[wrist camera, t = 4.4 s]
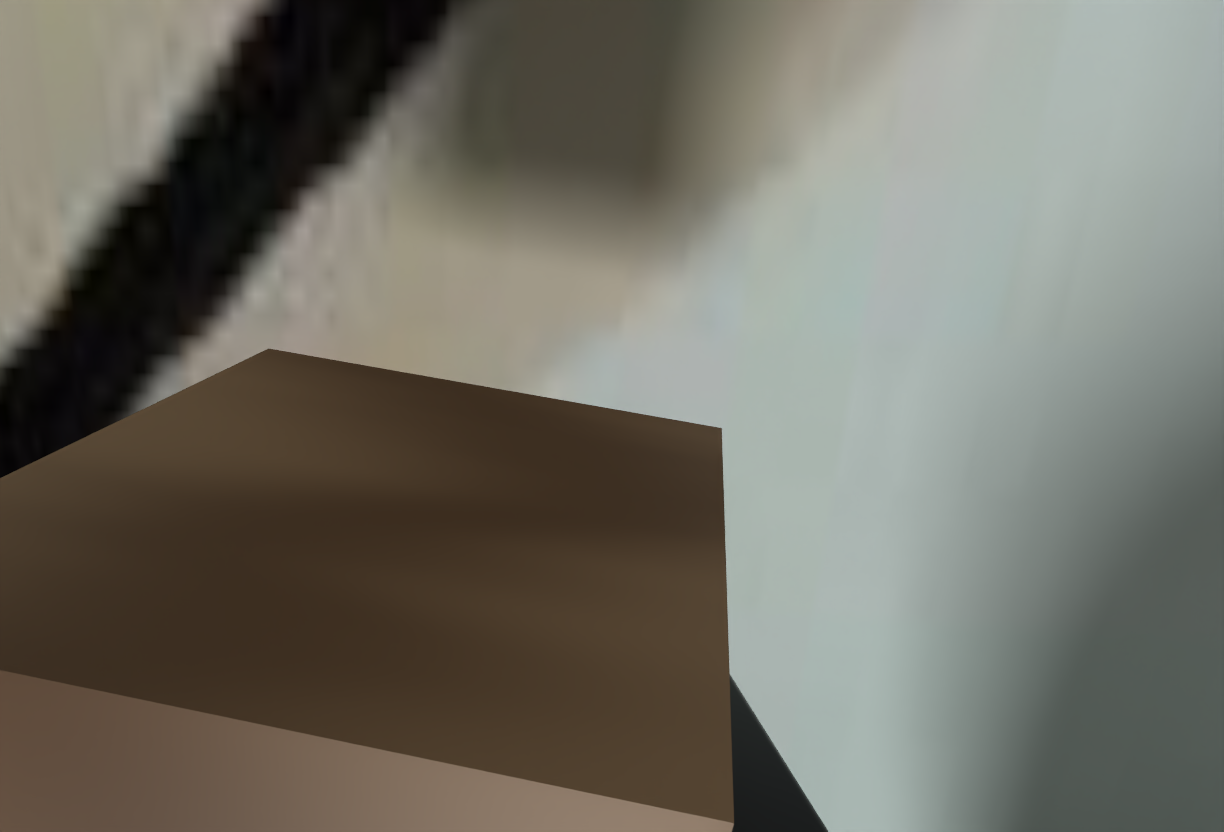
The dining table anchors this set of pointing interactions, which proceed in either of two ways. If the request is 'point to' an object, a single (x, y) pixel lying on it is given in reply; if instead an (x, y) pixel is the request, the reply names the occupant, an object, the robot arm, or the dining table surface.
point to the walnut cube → (366, 614)
